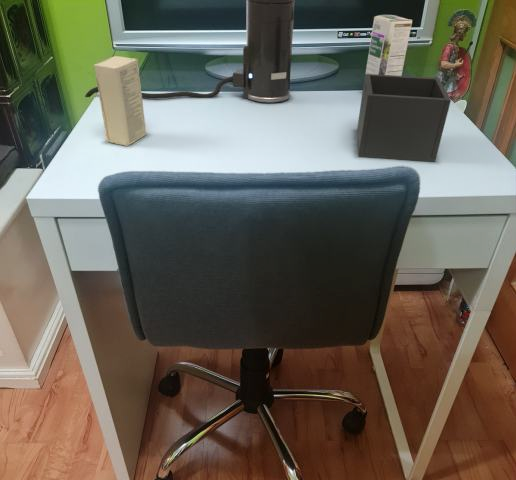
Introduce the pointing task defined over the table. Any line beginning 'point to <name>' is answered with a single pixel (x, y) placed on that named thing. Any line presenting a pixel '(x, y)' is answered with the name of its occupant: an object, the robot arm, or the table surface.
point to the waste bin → (401, 117)
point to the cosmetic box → (121, 99)
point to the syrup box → (388, 45)
